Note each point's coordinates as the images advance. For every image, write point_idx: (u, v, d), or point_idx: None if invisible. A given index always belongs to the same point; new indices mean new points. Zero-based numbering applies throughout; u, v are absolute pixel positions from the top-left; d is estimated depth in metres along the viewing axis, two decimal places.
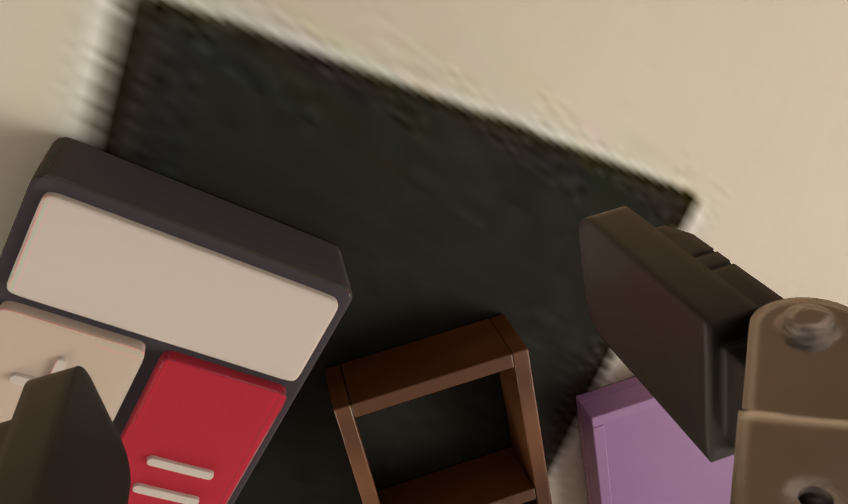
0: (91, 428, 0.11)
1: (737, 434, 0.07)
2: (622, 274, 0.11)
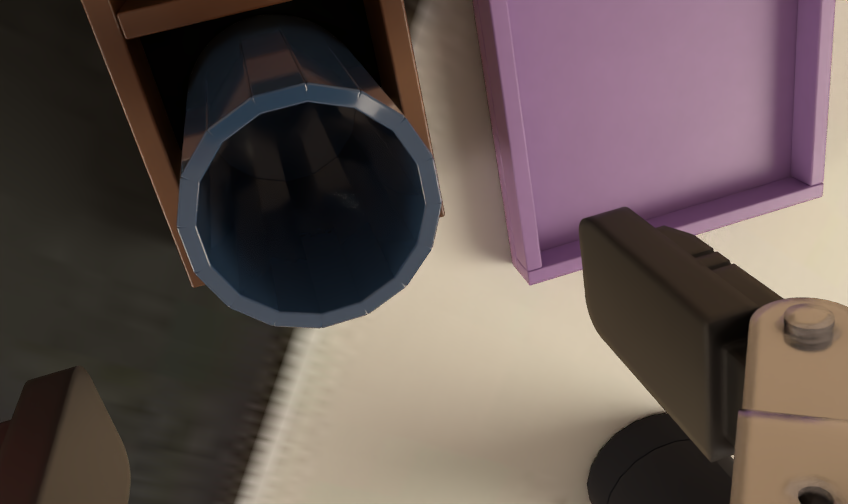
0: (90, 428, 0.11)
1: (736, 434, 0.07)
2: (621, 273, 0.11)
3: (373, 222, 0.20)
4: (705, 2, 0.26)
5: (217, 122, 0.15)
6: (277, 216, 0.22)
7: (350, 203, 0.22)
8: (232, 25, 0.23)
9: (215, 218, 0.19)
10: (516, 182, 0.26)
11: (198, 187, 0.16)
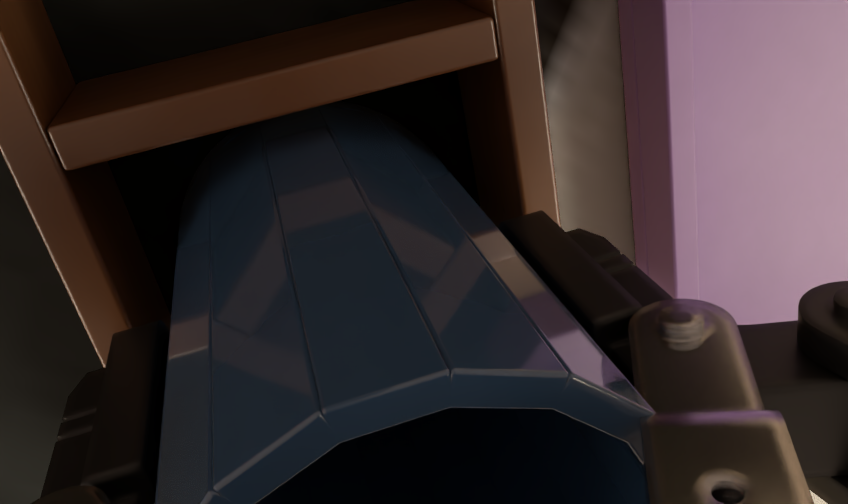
0: None
1: (642, 440, 0.07)
2: None
3: (509, 498, 0.11)
4: None
5: (237, 471, 0.06)
6: None
7: (450, 427, 0.13)
8: None
9: None
10: None
11: None
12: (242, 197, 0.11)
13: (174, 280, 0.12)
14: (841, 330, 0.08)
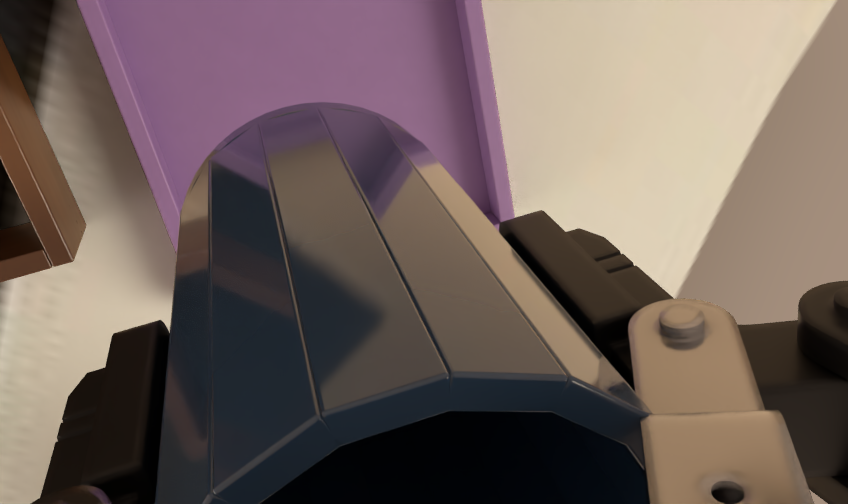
0: None
1: (643, 440, 0.07)
2: None
3: (508, 500, 0.11)
4: (358, 42, 0.26)
5: (236, 475, 0.06)
6: None
7: (450, 428, 0.13)
8: (251, 123, 0.14)
9: None
10: (166, 224, 0.26)
11: None
12: (242, 199, 0.11)
13: (174, 282, 0.12)
14: (841, 330, 0.08)
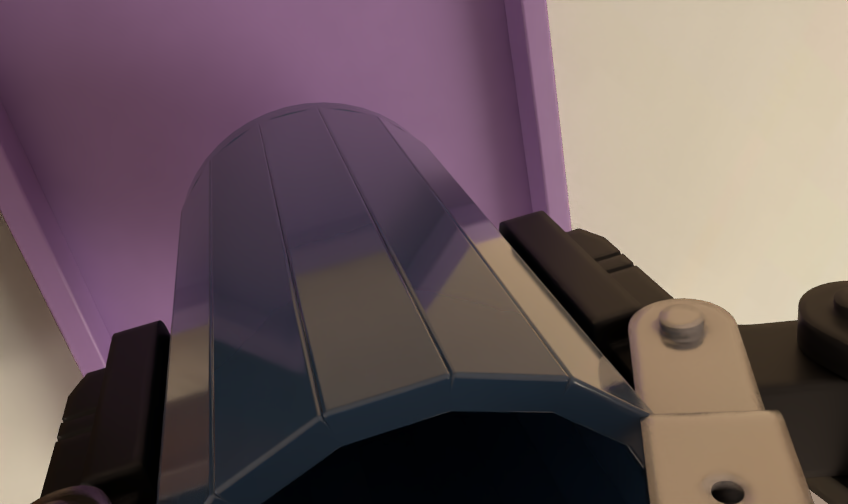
0: None
1: (642, 440, 0.07)
2: None
3: (509, 500, 0.11)
4: None
5: (238, 475, 0.06)
6: None
7: (450, 429, 0.13)
8: (252, 123, 0.14)
9: None
10: None
11: None
12: (243, 199, 0.11)
13: (175, 282, 0.12)
14: (842, 330, 0.08)
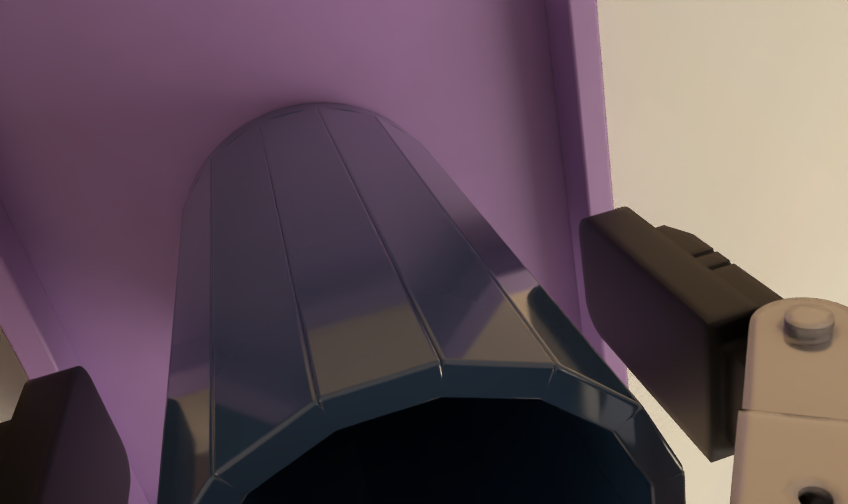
0: (90, 428, 0.11)
1: (736, 434, 0.07)
2: (621, 273, 0.11)
3: (502, 490, 0.11)
4: None
5: (237, 457, 0.07)
6: (325, 439, 0.14)
7: (446, 422, 0.13)
8: (252, 122, 0.15)
9: None
10: None
11: None
12: (243, 196, 0.11)
13: None
14: None
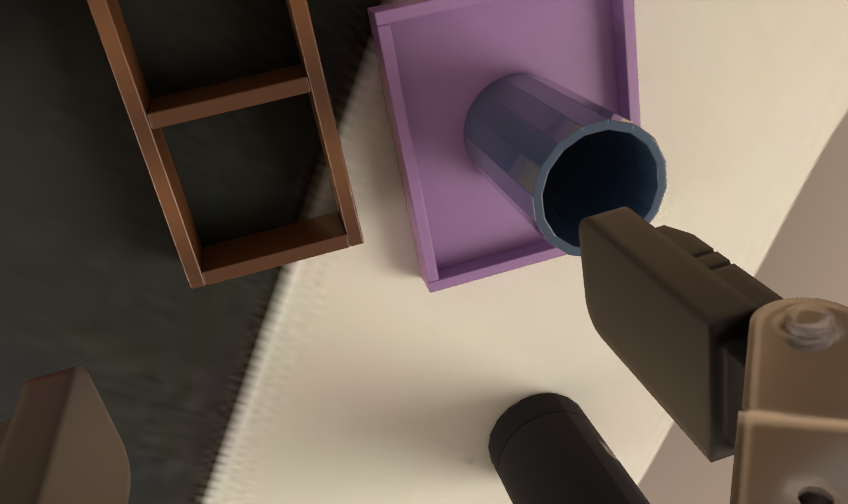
0: (91, 428, 0.11)
1: (736, 435, 0.07)
2: (621, 273, 0.11)
3: (605, 201, 0.34)
4: None
5: (563, 139, 0.29)
6: None
7: (578, 191, 0.35)
8: (498, 80, 0.37)
9: None
10: (416, 220, 0.38)
11: (547, 174, 0.29)
12: (517, 100, 0.34)
13: (490, 129, 0.34)
14: None
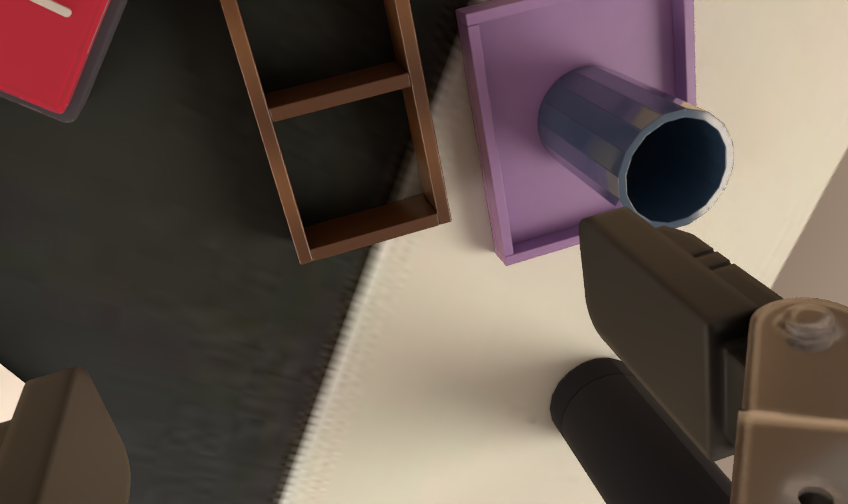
0: (91, 428, 0.11)
1: (736, 434, 0.07)
2: (621, 273, 0.11)
3: (673, 180, 0.38)
4: None
5: (646, 126, 0.33)
6: None
7: (645, 172, 0.39)
8: (570, 72, 0.41)
9: None
10: (496, 200, 0.42)
11: (631, 157, 0.33)
12: (593, 90, 0.38)
13: (569, 117, 0.38)
14: None
